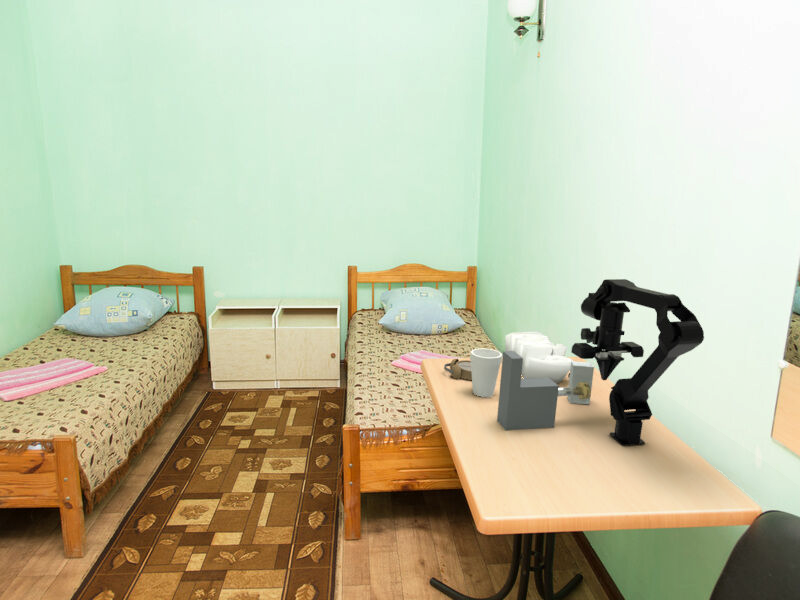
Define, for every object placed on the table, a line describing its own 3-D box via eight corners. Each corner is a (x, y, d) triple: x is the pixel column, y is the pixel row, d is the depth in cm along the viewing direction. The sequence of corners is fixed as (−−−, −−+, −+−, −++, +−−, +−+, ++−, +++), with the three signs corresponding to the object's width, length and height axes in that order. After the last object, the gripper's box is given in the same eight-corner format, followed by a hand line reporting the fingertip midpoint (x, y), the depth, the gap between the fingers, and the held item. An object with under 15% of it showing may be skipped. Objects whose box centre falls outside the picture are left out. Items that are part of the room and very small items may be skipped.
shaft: (589, 401, 154) (591, 385, 153) (546, 403, 151) (548, 387, 150) (580, 395, 158) (582, 379, 157) (538, 397, 156) (540, 381, 155)
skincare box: (586, 399, 173) (591, 362, 170) (589, 405, 169) (594, 367, 166) (566, 397, 174) (570, 360, 171) (569, 403, 170) (573, 365, 167)
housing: (554, 427, 153) (562, 357, 148) (505, 430, 150) (512, 358, 145) (544, 418, 158) (551, 349, 154) (496, 420, 155) (503, 351, 151)
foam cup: (496, 401, 169) (500, 360, 166) (465, 397, 171) (468, 356, 168) (499, 390, 178) (503, 350, 175) (470, 386, 180) (473, 346, 177)
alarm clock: (492, 374, 183) (447, 364, 183) (488, 388, 184) (443, 378, 184) (488, 362, 194) (445, 353, 194) (484, 376, 195) (441, 366, 195)
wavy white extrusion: (499, 352, 215) (501, 325, 213) (541, 353, 216) (544, 326, 214) (526, 387, 181) (529, 355, 179) (576, 388, 182) (580, 356, 180)
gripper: (624, 317, 162) (617, 368, 166) (564, 317, 158) (558, 370, 162) (648, 327, 152) (640, 382, 155) (585, 328, 148) (578, 385, 151)
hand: (603, 379), depth 156 cm, fingers closed
